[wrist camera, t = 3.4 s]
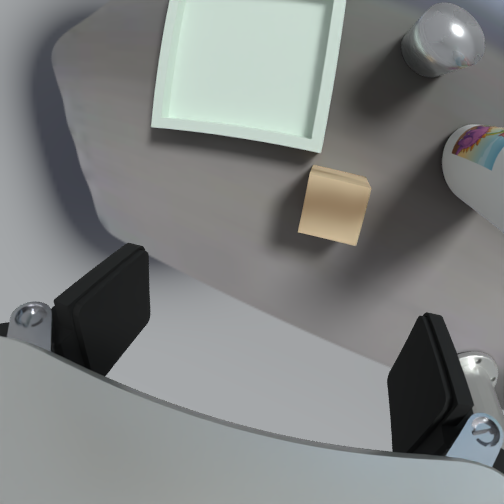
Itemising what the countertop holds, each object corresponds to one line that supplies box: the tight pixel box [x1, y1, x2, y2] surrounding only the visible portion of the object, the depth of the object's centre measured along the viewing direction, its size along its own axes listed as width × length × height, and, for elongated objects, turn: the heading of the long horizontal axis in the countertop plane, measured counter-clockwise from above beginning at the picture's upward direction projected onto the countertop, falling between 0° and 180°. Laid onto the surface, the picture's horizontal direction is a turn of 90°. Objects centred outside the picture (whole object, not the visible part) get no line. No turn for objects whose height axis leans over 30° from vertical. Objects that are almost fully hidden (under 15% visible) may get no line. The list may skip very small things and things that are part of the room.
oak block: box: [298, 165, 371, 246], centre depth 27 cm, size 5×5×5 cm
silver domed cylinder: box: [401, 3, 485, 77], centre depth 18 cm, size 5×5×8 cm
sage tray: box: [151, 0, 346, 153], centre depth 25 cm, size 16×16×2 cm
